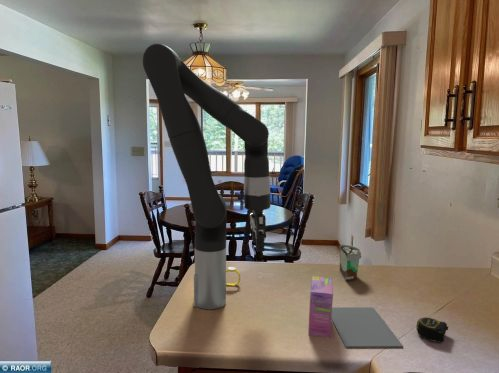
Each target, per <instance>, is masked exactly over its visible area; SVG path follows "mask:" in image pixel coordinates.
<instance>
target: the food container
mask: <svg viewBox="0 0 499 373" xmlns="http://www.w3.org/2000/svg"><path fill="white" fill-rule="evenodd" d="M360 259H362V252H361V250H360V249H359V248H358V247H356V246H352V245H348V244H339V274H341V276H342V278H343V280H344V281H345V282H353V281H356V280H357V277H358V273H359V272H358V270H359V262H360Z"/></svg>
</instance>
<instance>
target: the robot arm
mask: <svg viewBox="0 0 499 373" xmlns="http://www.w3.org/2000/svg"><path fill="white" fill-rule="evenodd" d="M142 68H143V69H144V72H145V74H146V76H147V79H148V81H149V83H150V85H151V87H152V90H153V92H154V95H155V97H156V100H157V101H158V106H159V108H160V114H161V116H162V120H163V123H164V126H165V129H166V133H167V136H168V139H169V143H170V145H171V148H172V152H173V154H174V157H175V160H176V162H177V165H178V167H179V169H180V172H181V175H182V176H183V179H184V181H185V184H186V187H187V191H188V195H189V200H190V202H191V203H190V204H191V208H192V209H191V210H192V214H193V217H194V218H195V219H194V220H195V230H194V232H195V233H194V274H193V307H194V308H199V309H203V310H216V309H220V308H222V307H224V306H225V305H226V303H227V285H226V283H227V272H226V270H227V222H228V221H227V220H228V219H227V218H228V217H227V210H228V209H227V202H226V200H225V198H224V197H223V196H222V195H221V194H220V193H219V192H218V190H217V189H218V188H217V187H216V185H215V182H214V179H213V176H212V171H211V165H210V159H209V153H208V148H207V144H206V139H205V137H204V134H203V130H202V128H201V125H200V122H199V120H198V118H197V116H196V114H195V112H194V110H193V108H192V106H191V105H190V102H189V101H188V99H187V97H188V98H189V99H191V101H193V102H194V103H195V104H197V106H199V107H200V108H201V109H202V110H203V111H204V112H205V113H206V114H208V115H209V116H210V117H212V118H213V119H214V120H216V121H217V122H218V123H220V124H221V125H222V126H224V127H225V128H227V129H229V130H231V132H233V133H234V135H236V136H237V137H238V138H240V139H241V140H242V141H243V142H244V155H245V156H244V162H243V167H244V168H243V173H244V174H243V175H244V180H243V200H244V201H243V205H244V206H243V207H244V209H246V211H247V210H248V211H250V213H249V219H250V222H249V223H250V224H249V225H250V229H251V234H252V236H251V237H252V238H251V239H252V240H251V241H252V243H254V244H255V243H256V244H255V246H256V247H255V248H256V252H257V253H261V252H265V239H266V238H267V225H266V221H267V218H266V215H265V213H264V210H265V211H266V210H269V209H270V208H271V181H270V165H269V164H270V162H269V157H268V156H269V155H268V151H269V149H268V147H269V135H270V134H269V133H270V132H269V129H268V126H267V125H266V124H265V123H264V122H262V121H261V120H260V119H258V118H256V117H255V116H253V115H252V114H250V113H249V112H247V110H245V109H243V107H241V106H240V105H239V104H238V103H237V102H236V101H234V100H233V99H232V98H230V97H229V96H228V95H226V94H225V93H223V92H222V91H221V90H219V89H217V88H215V87H214V86H213V85H211V84H210V83H208V82H207V81H205V80H203V79H202V78H201V77H199V76H198V75H197V74H196V73H195V72H194V71H193V70H192V69H191V68H190V67H189V66H187V64H186V63H185V62H184V61H183V60H182V59H181V58H180V56H179V55H178V53H177V52H175V50H173V49H172V48H171V47H169V46H167V45H166V44H162V43H153V44H151V45H149V46H148V47H147V48H145V50H144V53H143V56H142Z"/></svg>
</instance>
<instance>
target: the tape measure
mask: <svg viewBox="0 0 499 373" xmlns="http://www.w3.org/2000/svg"><path fill="white" fill-rule="evenodd" d="M415 326H416V331H417V334H418V335H419V336H420V337H422V338H424V339H426V340H428V341H433V342H434V341H435V342H439V343H442V342H444V340H445V335H446V333H447V331H449V326H448V324H447V323H446V322H444V321H440V320H438V319H435V318H432V317H420V318H419V319H417V322H416V325H415Z"/></svg>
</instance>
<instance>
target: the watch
mask: <svg viewBox="0 0 499 373" xmlns="http://www.w3.org/2000/svg"><path fill="white" fill-rule="evenodd" d="M227 272H231V273H232V272H233V273H237V276H238V280H237V281H236V282H235V283H228V282H226V286H230V287H236V286H238V285H239V283H240V281H241V272H240V271H239V270H237V268H236V267H234V266H229V267H227V268H226V273H227Z"/></svg>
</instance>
